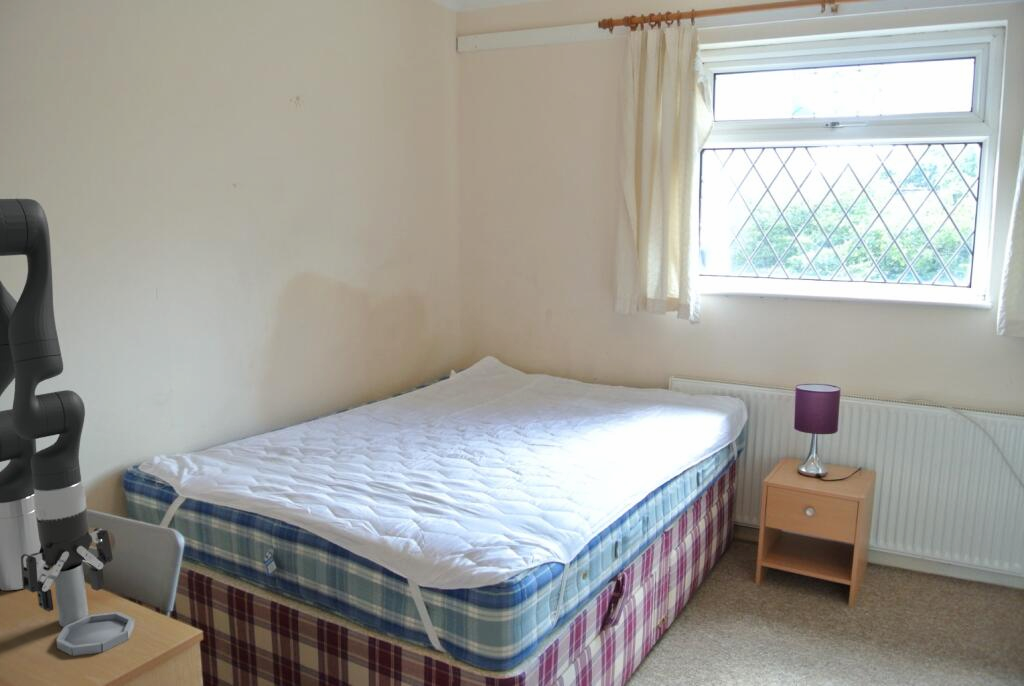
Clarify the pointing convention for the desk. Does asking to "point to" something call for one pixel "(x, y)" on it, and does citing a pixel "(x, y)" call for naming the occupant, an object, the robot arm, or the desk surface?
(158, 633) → the desk surface
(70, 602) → the planter
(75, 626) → the saucer
